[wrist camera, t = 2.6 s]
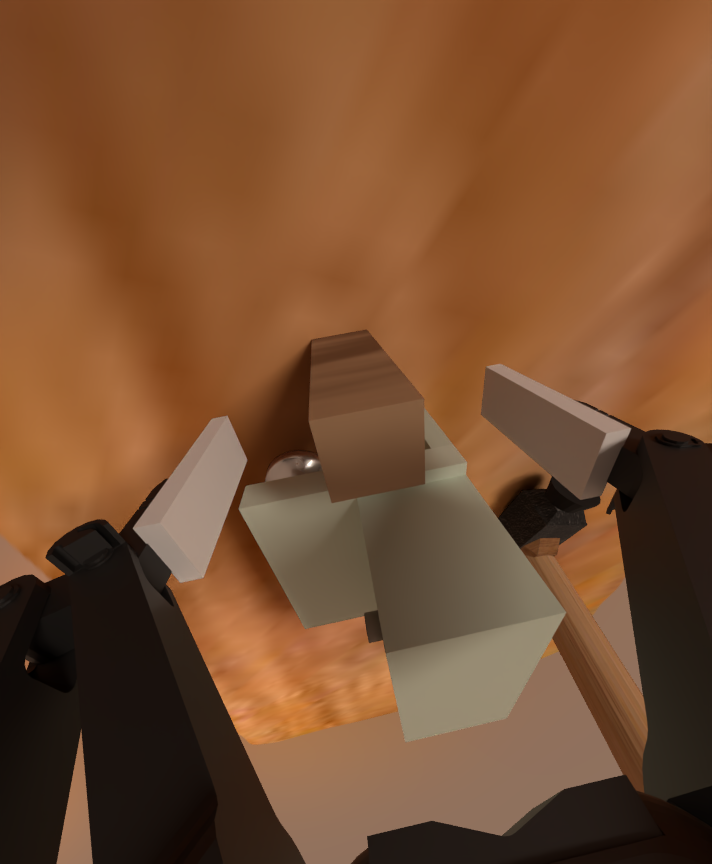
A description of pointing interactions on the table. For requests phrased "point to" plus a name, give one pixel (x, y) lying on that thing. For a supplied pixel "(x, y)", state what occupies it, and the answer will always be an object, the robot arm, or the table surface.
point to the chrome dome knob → (293, 465)
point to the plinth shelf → (414, 585)
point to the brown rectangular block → (364, 418)
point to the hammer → (581, 622)
